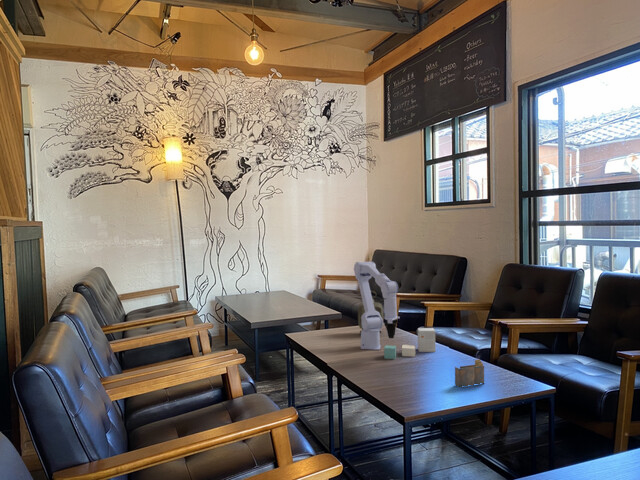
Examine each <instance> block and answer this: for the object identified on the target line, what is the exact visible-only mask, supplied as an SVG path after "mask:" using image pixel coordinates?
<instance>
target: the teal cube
mask: <svg viewBox="0 0 640 480" xmlns="http://www.w3.org/2000/svg"><path fill="white" fill-rule="evenodd" d="M383 351H384V354H383V355H384V357H383V359H387V360H396V358H397V346H396V345H386V344H385V345H384V349H383Z"/></svg>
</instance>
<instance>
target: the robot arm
mask: <svg viewBox="0 0 640 480" xmlns="http://www.w3.org/2000/svg"><path fill="white" fill-rule="evenodd" d="M353 272H354V276H355V280H357V282H358V287H359V292H360V296H361V300H362V303H363V305H364V310H365V313H364V314H363V315H362V316H361V320H362V322H361V324H362V328H363V330H362V329H361V330H360V331H361V333H360V349H361V350H376V351H379V350H380V349H381V347H382V345H381V344H380V343H381V341H380V337H381V336H380V335H381V333H380V331H381V330H382V328H383V326H384V327H385V329H386V332H387V336H388V338H389V339H394V338H395V334H396V329H397V328H396V327H397V323H398V321H399V320H398V319H400V316H398V310H397V308H398V306H397V294H398V292H399V284H398V283H397V282H396V280H395V281H393V280H390V278H388V276H387V275H386V274H385V273H381V272H380V271H379V270H378V269H377V265H376V263H375V262H374V261H372V260H371V261H357V262H355V264H354V267H353ZM372 277H373V278H374V282H375V283H376V284H377V286H379V287H380V290H381V293H382V298H383V304H384V308H383V311H384V320H385V322H383V320H382V318H381V316H380V313H379V312H377V311H376V310H375V308H374V304H373V300H372V299H373V298H372V297H373V296H372V292H371V291H372V290H371V287H370V282H369V280H371V279H372Z"/></svg>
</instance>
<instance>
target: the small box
mask: <svg viewBox="0 0 640 480" xmlns="http://www.w3.org/2000/svg"><path fill="white" fill-rule="evenodd" d="M417 350H418V351H419V352H421V353H435V352H436V350H437V349H436V330H435V329H434V328H433V327H431V328H430V327H418V328H417Z"/></svg>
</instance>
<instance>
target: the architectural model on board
mask: <svg viewBox="0 0 640 480" xmlns="http://www.w3.org/2000/svg"><path fill="white" fill-rule="evenodd" d="M473 360H474V364H468V365H461V366H459V367H456V366H455V367H454V386H455V385H456V386H455V387H457V386H458V387H462V386H468V385H474V384H480V383H484V384H485V365H484V362H482V361H481V360H480V358H478V359H475V358H474V359H473ZM458 387H457V388H458ZM462 388H463V387H462Z"/></svg>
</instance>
